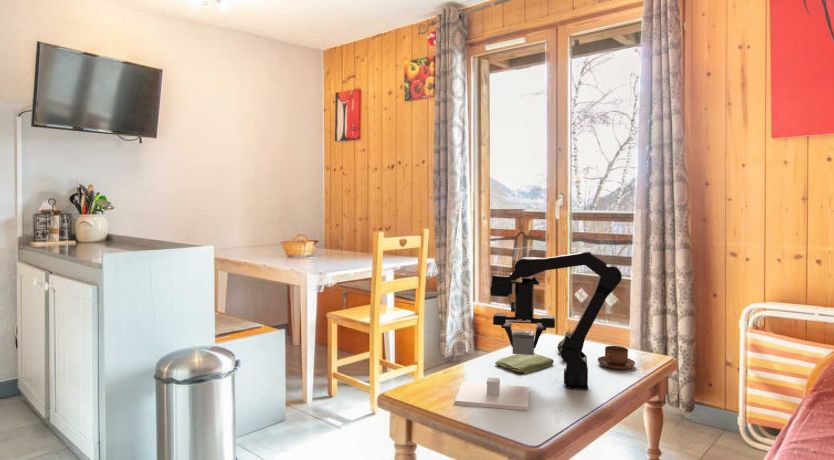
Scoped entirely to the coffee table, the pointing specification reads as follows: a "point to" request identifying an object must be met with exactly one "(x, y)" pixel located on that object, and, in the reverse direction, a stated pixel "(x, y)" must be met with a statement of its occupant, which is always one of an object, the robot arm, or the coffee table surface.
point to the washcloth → (525, 362)
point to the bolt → (559, 348)
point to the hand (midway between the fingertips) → (523, 347)
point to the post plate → (493, 395)
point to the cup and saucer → (616, 358)
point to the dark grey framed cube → (523, 342)
